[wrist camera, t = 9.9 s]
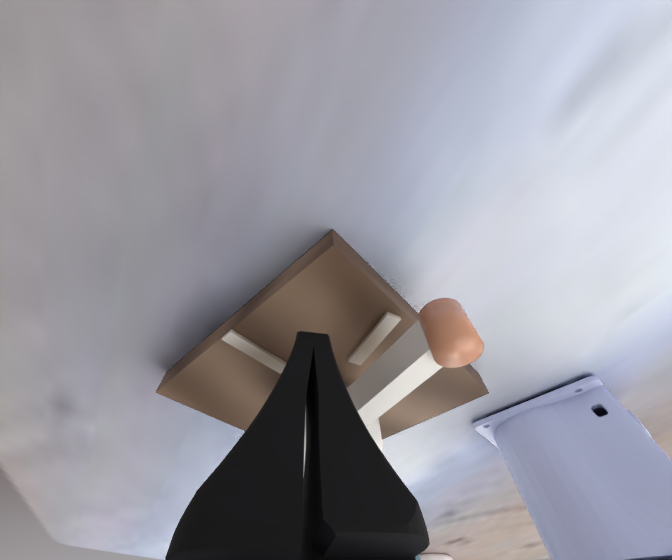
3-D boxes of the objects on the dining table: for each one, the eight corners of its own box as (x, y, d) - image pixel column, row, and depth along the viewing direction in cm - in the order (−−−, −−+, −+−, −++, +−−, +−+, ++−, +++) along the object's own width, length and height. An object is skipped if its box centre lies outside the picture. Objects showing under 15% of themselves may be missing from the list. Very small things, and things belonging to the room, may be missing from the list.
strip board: (332, 229, 13) (334, 259, 11) (478, 373, 19) (498, 410, 17) (166, 371, 18) (144, 411, 16) (323, 446, 25) (323, 481, 23)
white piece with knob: (343, 447, 19) (344, 485, 17) (259, 426, 17) (251, 466, 15) (502, 323, 12) (531, 364, 11) (396, 266, 10) (410, 304, 9)
